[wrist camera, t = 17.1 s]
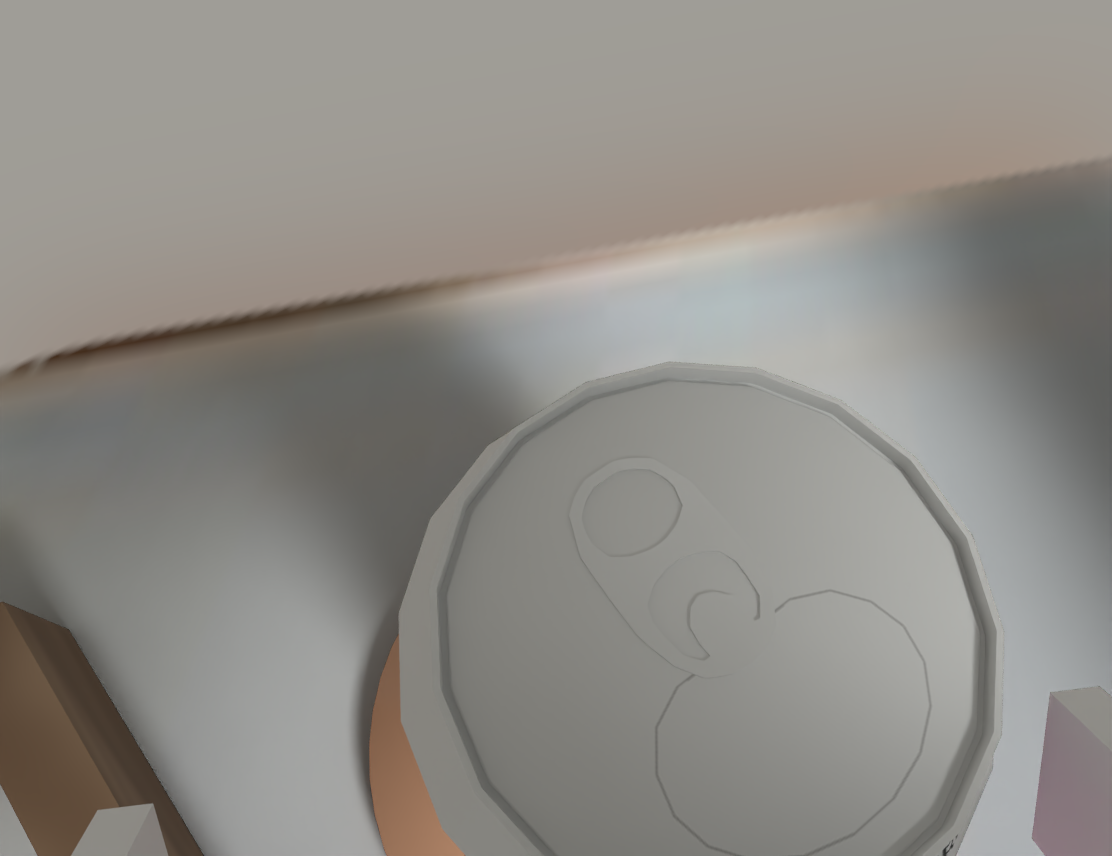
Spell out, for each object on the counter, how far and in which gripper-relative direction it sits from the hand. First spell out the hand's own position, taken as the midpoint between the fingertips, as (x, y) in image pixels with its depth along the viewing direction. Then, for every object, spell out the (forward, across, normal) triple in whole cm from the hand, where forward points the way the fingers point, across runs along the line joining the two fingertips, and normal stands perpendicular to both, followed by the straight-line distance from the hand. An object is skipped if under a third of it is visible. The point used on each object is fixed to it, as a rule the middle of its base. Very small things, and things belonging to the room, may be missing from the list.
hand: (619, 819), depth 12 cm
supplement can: (+10, +1, -7) cm, 12 cm away
